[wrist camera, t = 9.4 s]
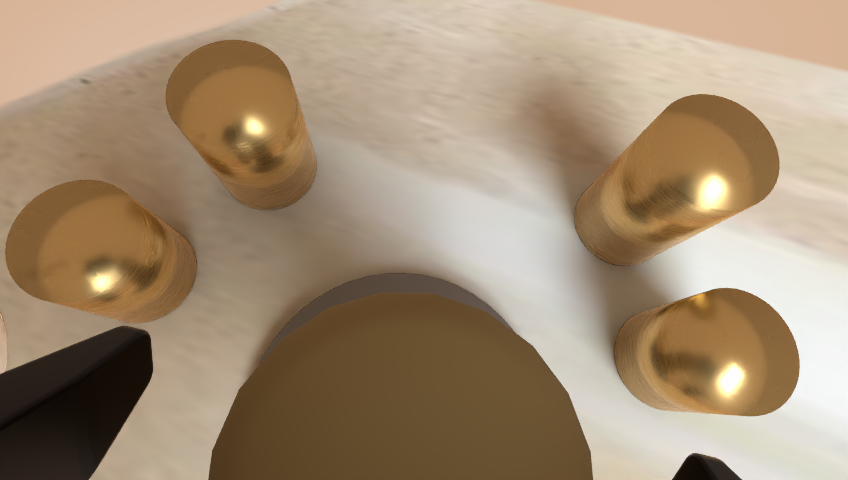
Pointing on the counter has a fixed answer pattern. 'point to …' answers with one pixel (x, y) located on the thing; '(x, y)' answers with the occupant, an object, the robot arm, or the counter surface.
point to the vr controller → (3, 346)
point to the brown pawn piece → (402, 401)
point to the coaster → (377, 285)
